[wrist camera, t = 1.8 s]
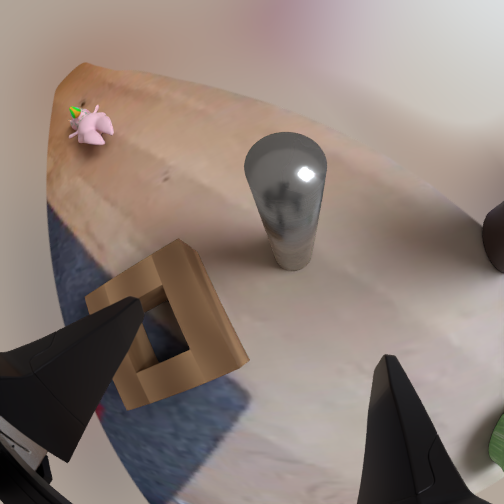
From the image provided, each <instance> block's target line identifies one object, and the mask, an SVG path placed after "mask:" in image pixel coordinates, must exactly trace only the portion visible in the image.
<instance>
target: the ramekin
mask: <svg viewBox="0 0 504 504" xmlns="http://www.w3.org/2000/svg"><path fill="white" fill-rule="evenodd" d="M489 456H490V458H491V459H492V460H493V461H494V462H495V463H496V464H498V465H499V466H500V467H501V468H502V470H503V472H504V413H503V415H502V416H501V418H500V419H499V421H498V423H497V425H496V427H495V429H494V431H493V433H492V436H491V439H490V443H489Z"/></svg>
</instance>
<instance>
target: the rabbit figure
mask: <svg viewBox="0 0 504 504" xmlns="http://www.w3.org/2000/svg"><path fill="white" fill-rule="evenodd" d="M98 108H99V105H96V107H95V110H94V112H93V113H90V111H89V110H87V109H82V108H79V107H78V108H76V107H70V108H69V110H70V112H71V116H72V117H73V119H72V121H71V120H69V119H68V120H69V122H70V124H71V126H72V128H73V129H74V130H76V132H75V133H73V134H71V135H70V136H69V138H73V137H74V136H76V135H77V134H78V141H79V143H88V144H94V145H104V144H105V142H104V140H103V138H102V136H101V134H102V133H106V134H109V135H113V133H114V131H113V126H112V123H111V120H110V119H109V117H107V116H106V114H105V113H97V110H98Z"/></svg>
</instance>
